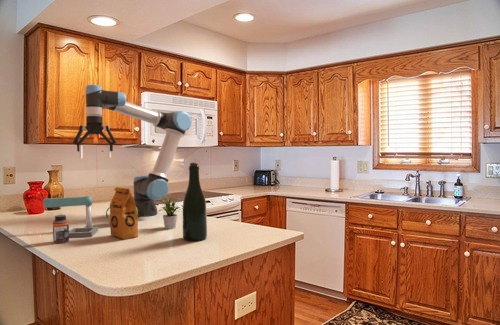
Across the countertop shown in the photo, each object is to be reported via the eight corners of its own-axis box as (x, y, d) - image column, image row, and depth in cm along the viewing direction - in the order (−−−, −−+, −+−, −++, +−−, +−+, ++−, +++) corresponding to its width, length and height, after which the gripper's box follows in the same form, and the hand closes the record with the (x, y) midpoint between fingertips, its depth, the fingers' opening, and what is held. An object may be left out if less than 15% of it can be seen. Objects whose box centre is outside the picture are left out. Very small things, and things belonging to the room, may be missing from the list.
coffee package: (120, 241, 149) (118, 189, 148) (107, 236, 157) (106, 187, 156) (141, 236, 156) (140, 187, 155) (128, 232, 164) (127, 185, 163)
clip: (92, 204, 173) (92, 196, 173) (91, 205, 170) (91, 196, 170) (44, 206, 166) (44, 198, 166) (43, 207, 163) (43, 199, 163)
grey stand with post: (101, 227, 175) (101, 204, 174) (91, 236, 156) (91, 210, 156) (78, 228, 173) (77, 205, 172) (65, 237, 155) (64, 211, 154)
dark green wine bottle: (206, 235, 158) (205, 162, 157) (207, 241, 148) (206, 163, 146) (182, 236, 156) (181, 162, 155) (182, 242, 146) (181, 163, 145)
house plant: (146, 229, 170) (146, 195, 170) (166, 223, 183) (165, 192, 182) (169, 232, 164) (168, 197, 163) (187, 226, 176) (187, 194, 175)
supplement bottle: (57, 240, 151) (56, 214, 151) (71, 239, 152) (70, 213, 151) (50, 243, 145) (49, 216, 145) (65, 243, 146) (64, 216, 145)
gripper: (121, 116, 183) (122, 157, 183) (70, 116, 178) (71, 158, 179) (118, 115, 175) (119, 157, 176) (65, 115, 171) (66, 158, 172)
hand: (95, 158), depth 178 cm, fingers open, 13 cm apart
